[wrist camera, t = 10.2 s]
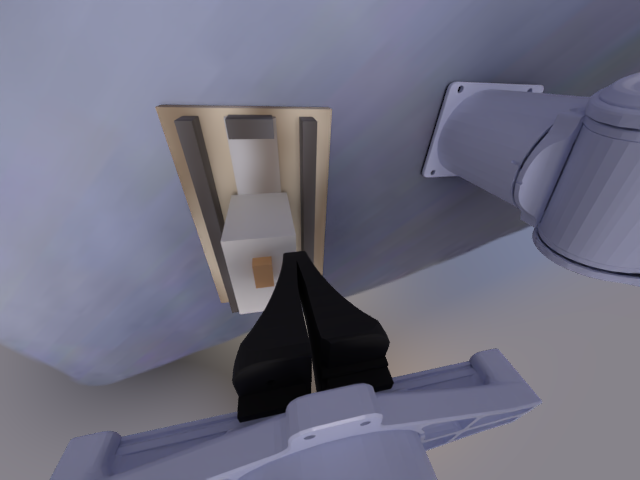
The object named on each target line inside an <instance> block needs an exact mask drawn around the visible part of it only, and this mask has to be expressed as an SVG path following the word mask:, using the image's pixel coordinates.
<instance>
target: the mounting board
mask: <svg viewBox="0 0 640 480" xmlns="http://www.w3.org/2000/svg"><path fill="white" fill-rule="evenodd" d="M155 108H156V110H157V113H158V116H159V119H160V122H161V125H162V128H163V131H164V134H165V137H166V140H167V143H168V146H169V149H170V152H171V155H172V158H173V161H174V164H175V167H176V170H177V173H178V176H179V179H180V182H181V185H182V188H183V191H184V193H185V196H186V199H187V202H188V205H189V208H190V211H191V214H192V217H193V220H194V223H195V226H196V229H197V232H198V235H199V238H200V241H201V244H202V247H203V250H204V253H205V256H206V259H207V262H208V265H209V268H210V271H211V274H212V276H213V279H214V282H215V285H216V288H217V291H218V294H219V297H220V300H221V303H226V302H229V303H230V306H231V310H232V313H234V312H239V309H238V305H237V301H236V298H235V294H234V290H233V287H232V283H231V279H230V275H229V272H228V268H227V264H226V261H225V257H224V253H223V249H222V246H221V237H222V233H223V229H224V225H225V220H226V216H227V212H228V208H229V203H230V199H231V195H242V194H262V193H282V192H287V196H288V200H289V205H290V210H291V215H292V219H293V224H294V229H295V234H296V252H297V251H306V252H307V254H308V256H309V258H310V259H311V261H312V263H313V264H314V265H315V267H316V268H317V270H318V271H319V272H320V273H321V275H322V274H323V256H324V239H325V221H326V204H327V187H328V169H329V152H330V135H331V117H332V109H330V108H329V107H272V106H206V105H160V106H157V107H155Z"/></svg>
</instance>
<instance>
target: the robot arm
mask: <svg viewBox="0 0 640 480" xmlns="http://www.w3.org/2000/svg"><path fill="white" fill-rule="evenodd" d="M459 87H460V90H459V92H458V88H459ZM543 90H544V87H543V86H542V85H526V84H501V83H477V82H452V83H451V84H450V85H449V86H448V88H447V91H446V95H445V98H444V101H443V105H442V108H441V111H440V115H439V118H438V121H437V124H436V128H435V131H434V134H433V138H432V141H431V144H430V148H429V151H428V154H427V157H426V161H425V164H424V167H423V171H422V175H423V176H424V177H447V176H459V177H461V178H463V179H465V180H467V181H469V182H471V183H472V184H474V185H476V186H478V187H480V188H482V189H484V190H485V191H487V192H489V193H491V194H493V195H495V196H497V197H498V198H500V199H502V200H504V201H506V202H508V203H510V204H512V205H513V206H515V207H517V208H519V209H520V210H521V217H520V219H521V220H522V221H524V222H526V223H528V224H529V225H531V226H533V227H535V228H534V231H533V242H534V244H535V246H536V247H537V249H538V250H539V251H540V252H541V253H542V254H543V255H544V256H546V257H547V258H548V259H550V260H551V261H553V262H554V263H556V264H558V265H560V266H562V267H564V268H566V269H568V270H570V271H573V272H575V273H578V274H581V275H584V276H587V277H591V278H595V279H599V280H604V281H610V282H617V283H623V284H629V285H634V286H638V287H640V72H639V73H635V74H632V75H629V76H626V77H624V78H621V79H619V80H617V81H616V82H614V83H612V84H611V85H609V86H608V87H606V88H603V89H601V90H599V91H598V92H596V93H594V94H593V95H592V96H591V97H582V96H570V95H558V94H546V93H542V92H543ZM527 91H528V92H527ZM432 170H433V172H432V173H431V171H432ZM301 305H302V306H301ZM302 308H303V311H302ZM303 312H304V316H305V320H306V325H307V329H306V325H305V321H304V316H303ZM307 330H308V333H307ZM308 336H309V338H308ZM389 343H390V342H389V339H388V337H387V334H386V332H385V331H384V329H383V328H382V326H381V324H380V323H379V322H378V320H376V319H374V318H372V317H371V316H369V315H367V314H366V313H364V312H362V311H361V310H359V309H358V308H356V307H355V306H354V305H353V304H351V303H350V302H349V301H347V300H346V299H345V298H344V297H343V296H341V295H340V294H339V293H338V292H337V291H336V290H335V289H334V288H333V287H332V286H331V285H330V284H329V283H328V282H327V281H326V279H325V278H324V277H323V276H322V275H321V273H320V272H319V271H318V270H317V268H316V267H315V265H314V264H313V263H312V261H311V259H310V258H309V256H308V254H307V252H306V251H297V252H288V253H284V254H283V262H282V267H281V271H280V274H279V278H278V281H277V283H276V286H275V289H274V291H273V294H272V296H271V298H270V300H269V302H268V304H267V306H266V308H265V309H264V311H263V313H262V315H261V316H260V318H259V319H258V321H257V322H256V324H255V325H254V327H253V328H252V330H251V331H250V332H249V334H248V335H247V336H246V338H245V339H244V340H243V342H242V343H241V345H240V347H239V350H238V353H237V356H236V359H235V363H234V369H233V379H232V381H233V385H234V387H235V390H236V392H237V394H238V396H239V399H238V412H233V413H229V414H224V415H219V416H215V417H211V418H206V419H201V420H197V421H192V422H187V423H183V424H178V425H173V426H169V427H165V428H160V429H155V430H150V431H146V432H141V433H137V434H132V435H128V436H123V437H121V436H120V435H119V434H118V433H117V432H114V431H104V432H99V433H94V434H89V435H85V436H80V437H75V438H73V439H71V440H70V442H69V443H68V445H67V447H66V449H65V451H64V453H63V455H62V457H61V459H60V461H59V463H58V465H57V466H56V468H55V470H54V473H53V474H52V476H51V478H50V480H438V479H437V477H436V475H435V472H434V470H433V468H432V465H431V463H430V461H429V458H428V456H427V454H426V451H427V450H430V449H433V448H436V447H439V446H441V445H444V444H447V443H450V442H453V441H456V440H459V439H462V438H464V437H467V436H470V435H473V434H476V433H479V432H482V431H485V430H488V429H491V428H495V427H498V426H501V425H505V424H508V423H512V422H514V421H515V420H517V419H519V418H520V417H522V416H523V415H525V414H526V413H528V412H529V411H531V410H532V409H534V408H536V407H537V406H539V405H540V404H542V401H541V399H540V398H539V397H538V396H537V395H536V394H535V392H534V391H533V390H532V389H531V387H530V386H529V385H528V384H527V383H526V381H525V380H524V379H523V378H522V377H521V376H520V374H519V373H518V372H517V371H516V370H515V368H514V367H513V366H512V365H511V364H510V362H509V361H508V360H507V359H506V358H505V357H504V356H503V354H502V353H501V352H500V351H499V349H496V348H495V349H490V350H486V351H481V352H478V353H476V354H474V355H473V356H472V357H471V358H470V360H469V361H467V362H463V363H458V364H454V365H449V366H444V367H440V368H435V369H431V370H426V371H421V372H417V373H412V374H407V375H403V376H398V377H394V378H392V377H391V375H390V372H389V370H388V367H387V366H388V362H387V359H386V357H385V355H386V352H387V350H388V347H389ZM312 363H313V370H314V376H315V384H316V390H317V392H316V393H311V382H312Z"/></svg>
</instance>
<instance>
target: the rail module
mask: <svg viewBox="0 0 640 480" xmlns="http://www.w3.org/2000/svg"><path fill="white" fill-rule="evenodd" d="M221 246H222V249H223V253H224V257H225V261H226V264H227V268H228V272H229V275H230V279H231V283H232V287H233V290H234V294H235V298H236V301H237V305H238V309H239V313H240V314H246V313H253V312H260V311H264V309H265V308H266V306H267V304H268V302H269V300H270V298H271V296H272V294H273V291H274V289H275V286H276V283H277V281H278V278H279V274H280V271H281V267H282V262H283V254H284V253H288V252H296V234H295V229H294V224H293V219H292V215H291V210H290V205H289V200H288V196H287V192H282V193H262V194H242V195H231V199H230V203H229V208H228V212H227V216H226V220H225V225H224V229H223V233H222V237H221Z"/></svg>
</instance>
